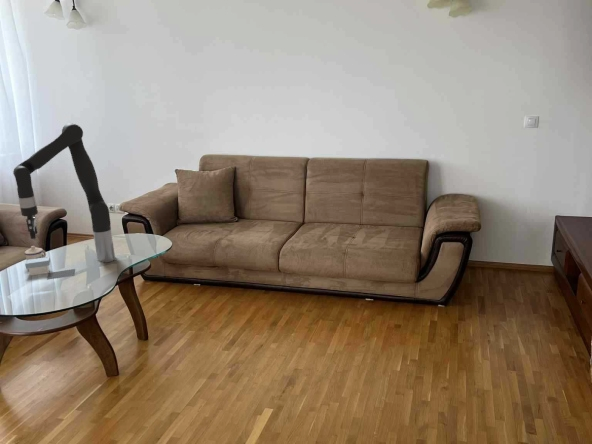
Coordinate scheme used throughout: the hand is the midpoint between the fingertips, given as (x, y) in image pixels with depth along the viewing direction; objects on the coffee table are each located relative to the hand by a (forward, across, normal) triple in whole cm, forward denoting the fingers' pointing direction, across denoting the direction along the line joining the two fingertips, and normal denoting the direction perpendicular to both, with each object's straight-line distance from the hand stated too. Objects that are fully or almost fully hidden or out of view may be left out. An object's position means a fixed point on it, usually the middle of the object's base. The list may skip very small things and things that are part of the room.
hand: (34, 236), depth 284 cm
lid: (+15, 0, +1) cm, 16 cm away
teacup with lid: (+21, +14, +3) cm, 25 cm away
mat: (+21, -8, -10) cm, 24 cm away
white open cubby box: (+20, 0, +1) cm, 21 cm away
